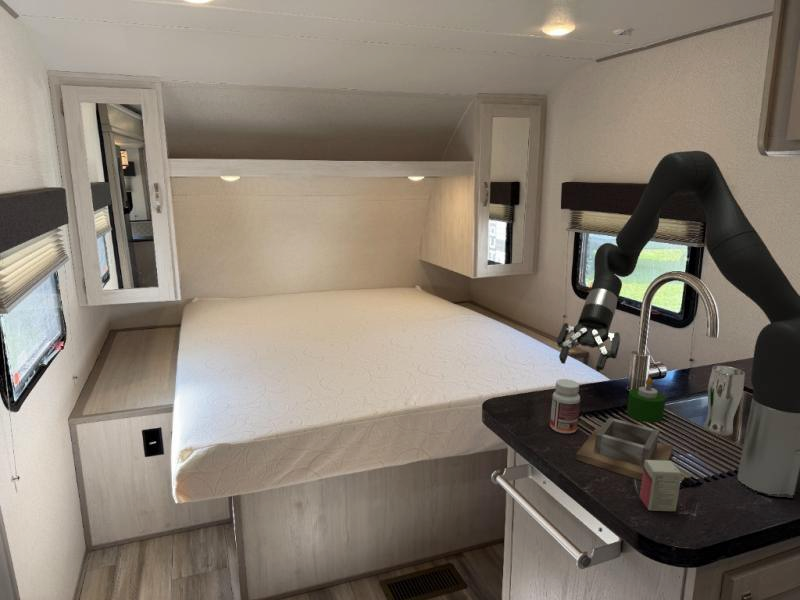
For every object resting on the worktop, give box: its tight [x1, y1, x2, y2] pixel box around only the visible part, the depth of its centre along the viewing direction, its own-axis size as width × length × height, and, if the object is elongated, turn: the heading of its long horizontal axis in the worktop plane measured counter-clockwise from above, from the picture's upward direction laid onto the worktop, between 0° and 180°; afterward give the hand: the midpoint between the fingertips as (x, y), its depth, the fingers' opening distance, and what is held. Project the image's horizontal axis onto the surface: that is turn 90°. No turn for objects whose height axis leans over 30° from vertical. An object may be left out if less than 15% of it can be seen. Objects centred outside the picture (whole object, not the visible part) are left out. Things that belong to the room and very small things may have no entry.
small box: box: [639, 460, 683, 512], centre depth 101 cm, size 5×4×8 cm
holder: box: [575, 417, 674, 481], centre depth 118 cm, size 16×16×6 cm
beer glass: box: [703, 365, 746, 437], centre depth 131 cm, size 7×7×15 cm
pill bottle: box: [549, 378, 581, 434], centre depth 130 cm, size 6×6×11 cm
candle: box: [626, 377, 667, 423], centre depth 139 cm, size 8×8×10 cm
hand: (579, 366), depth 135 cm, fingers open, 8 cm apart
